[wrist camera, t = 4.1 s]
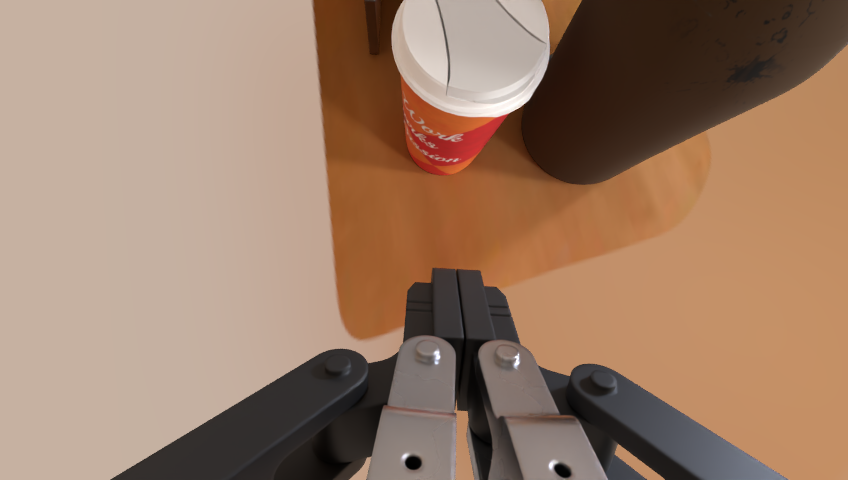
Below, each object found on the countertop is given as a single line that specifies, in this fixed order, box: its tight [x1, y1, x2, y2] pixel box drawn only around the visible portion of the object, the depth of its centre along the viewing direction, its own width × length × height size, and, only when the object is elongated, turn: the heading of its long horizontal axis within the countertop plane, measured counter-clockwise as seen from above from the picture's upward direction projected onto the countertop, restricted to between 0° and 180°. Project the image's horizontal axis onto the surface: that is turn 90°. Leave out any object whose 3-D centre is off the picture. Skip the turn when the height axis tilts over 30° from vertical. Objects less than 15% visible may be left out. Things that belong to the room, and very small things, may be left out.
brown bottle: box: [522, 0, 848, 185], centre depth 21 cm, size 11×11×25 cm
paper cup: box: [391, 0, 550, 175], centre depth 26 cm, size 8×8×14 cm
